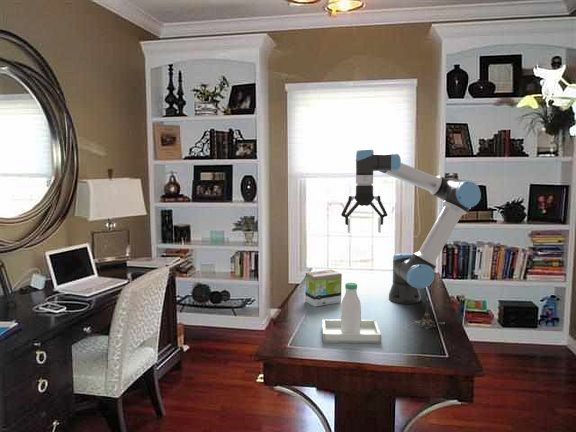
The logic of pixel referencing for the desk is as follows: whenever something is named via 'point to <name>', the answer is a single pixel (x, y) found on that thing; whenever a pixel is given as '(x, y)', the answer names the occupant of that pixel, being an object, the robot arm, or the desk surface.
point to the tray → (334, 334)
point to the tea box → (323, 287)
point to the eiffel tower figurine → (427, 319)
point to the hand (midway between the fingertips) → (364, 232)
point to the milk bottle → (351, 310)
